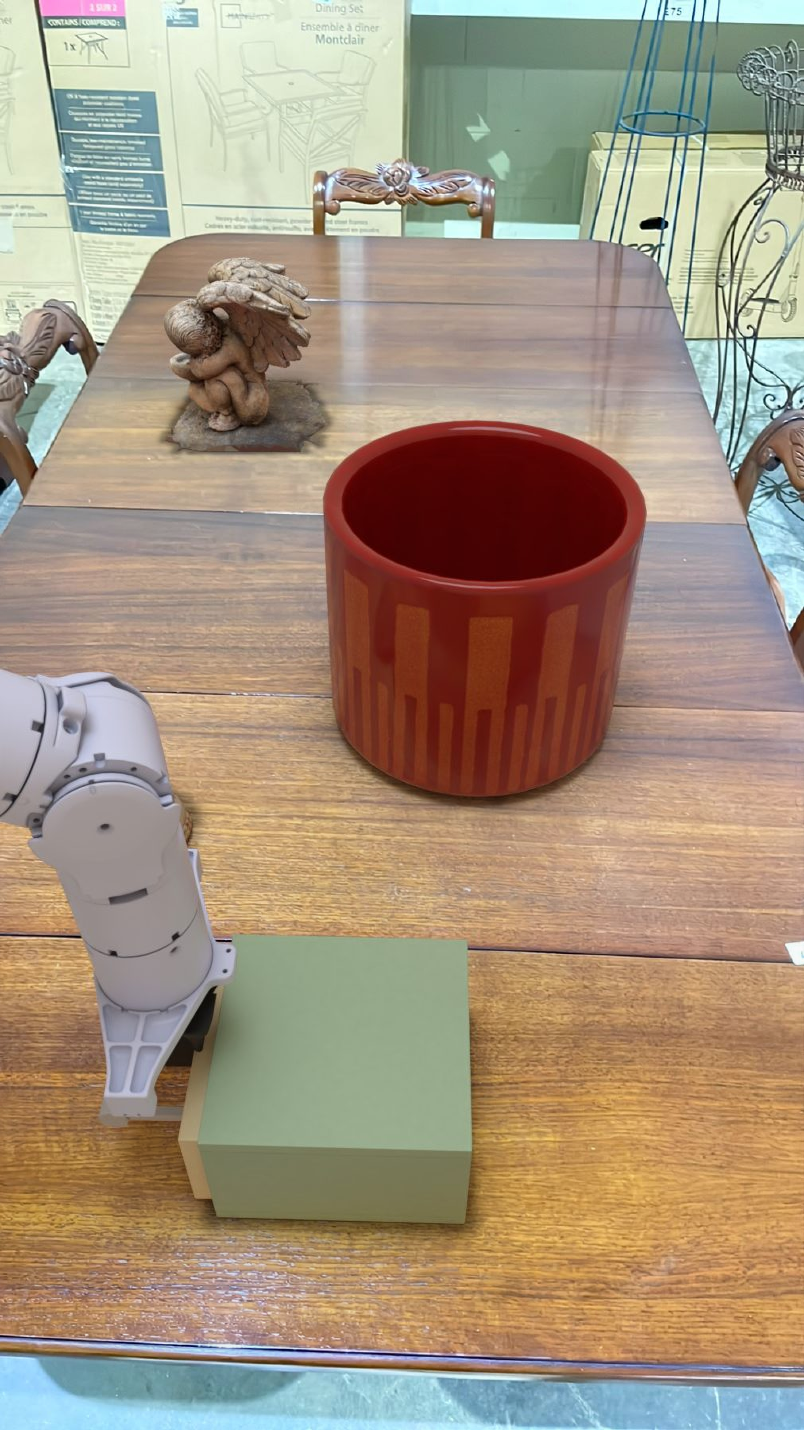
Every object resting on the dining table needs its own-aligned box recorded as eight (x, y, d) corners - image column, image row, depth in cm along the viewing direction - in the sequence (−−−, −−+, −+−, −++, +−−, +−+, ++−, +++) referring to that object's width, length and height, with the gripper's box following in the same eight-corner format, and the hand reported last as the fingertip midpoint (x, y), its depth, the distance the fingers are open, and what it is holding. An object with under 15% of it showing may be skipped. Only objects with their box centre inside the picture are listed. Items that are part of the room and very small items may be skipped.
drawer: (103, 1196, 59) (78, 1137, 54) (145, 1013, 67) (127, 949, 63) (423, 1205, 59) (425, 1146, 54) (425, 1020, 67) (427, 956, 63)
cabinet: (216, 1217, 59) (196, 1143, 53) (246, 1015, 68) (232, 933, 63) (464, 1224, 59) (472, 1151, 53) (461, 1020, 68) (467, 939, 62)
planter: (647, 790, 83) (696, 573, 69) (349, 824, 80) (340, 604, 67) (567, 611, 100) (595, 408, 86) (319, 634, 97) (307, 428, 83)
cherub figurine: (189, 380, 135) (168, 231, 123) (332, 383, 134) (326, 234, 122) (160, 450, 122) (134, 292, 110) (319, 453, 121) (311, 295, 109)
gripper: (197, 1047, 45) (239, 1186, 55) (242, 793, 56) (270, 945, 65) (32, 1045, 46) (101, 1184, 55) (108, 793, 56) (155, 945, 66)
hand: (184, 1055), depth 60 cm, fingers closed, pressing on drawer
